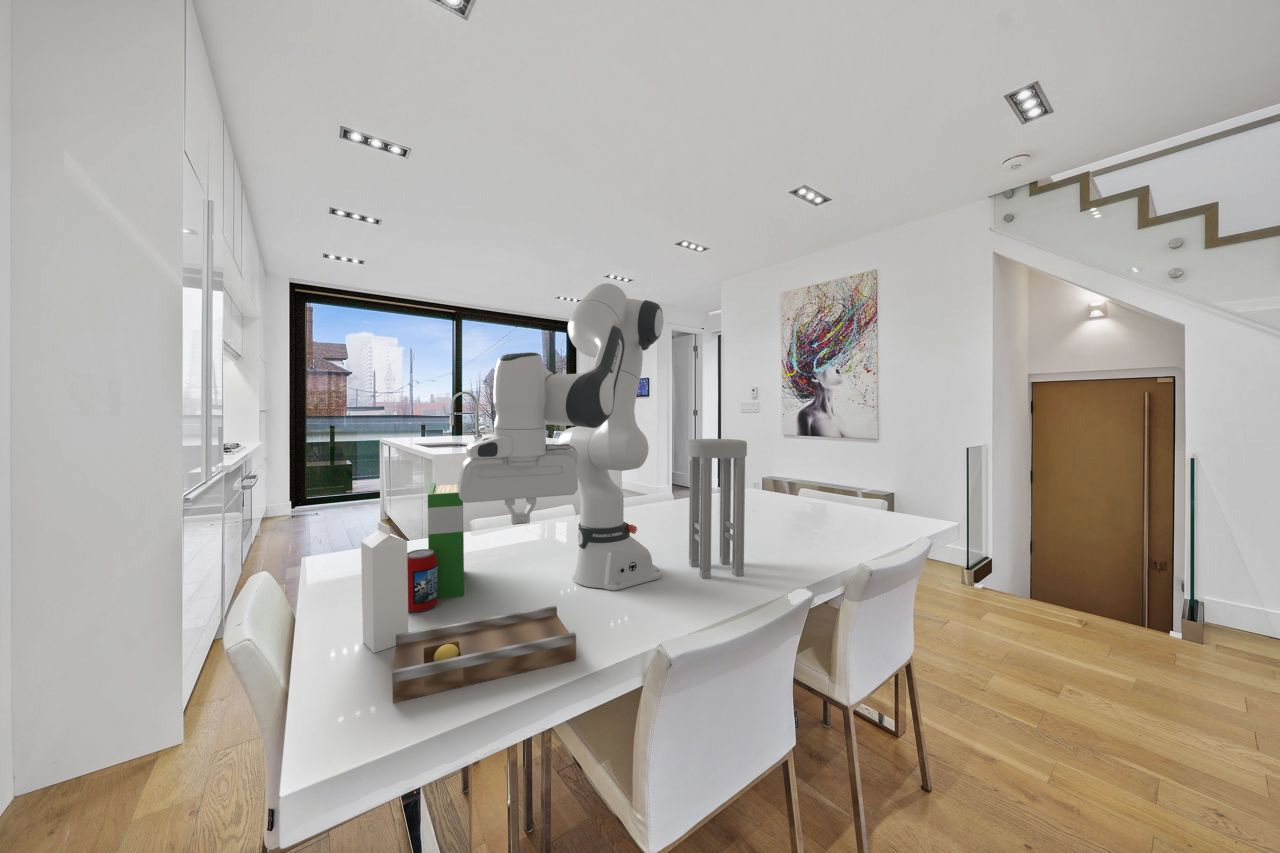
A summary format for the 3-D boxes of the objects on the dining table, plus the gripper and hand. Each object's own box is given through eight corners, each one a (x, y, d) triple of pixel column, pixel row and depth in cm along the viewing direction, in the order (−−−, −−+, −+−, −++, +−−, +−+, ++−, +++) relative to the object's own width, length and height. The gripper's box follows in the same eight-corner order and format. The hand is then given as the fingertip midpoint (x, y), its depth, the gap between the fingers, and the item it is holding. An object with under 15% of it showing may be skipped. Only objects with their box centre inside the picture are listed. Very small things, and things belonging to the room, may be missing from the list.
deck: (555, 628, 93) (555, 605, 93) (576, 660, 81) (576, 634, 81) (396, 660, 81) (395, 634, 81) (392, 703, 69) (392, 673, 69)
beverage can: (424, 615, 98) (423, 558, 98) (396, 612, 100) (395, 556, 99) (444, 602, 105) (443, 549, 105) (417, 599, 106) (416, 547, 106)
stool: (697, 582, 118) (698, 442, 116) (679, 562, 133) (680, 438, 132) (754, 578, 121) (756, 442, 120) (731, 559, 136) (732, 438, 135)
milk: (396, 631, 91) (395, 518, 91) (409, 642, 87) (408, 524, 87) (361, 642, 87) (360, 524, 86) (373, 654, 83) (371, 529, 82)
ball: (459, 638, 81) (434, 641, 79) (462, 649, 77) (435, 652, 75) (457, 662, 81) (431, 664, 79) (459, 674, 77) (432, 677, 75)
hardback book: (432, 574, 123) (431, 482, 122) (462, 571, 125) (461, 481, 124) (429, 600, 106) (427, 494, 105) (464, 595, 109) (463, 492, 108)
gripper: (572, 442, 89) (572, 514, 90) (457, 445, 81) (458, 525, 81) (582, 444, 84) (582, 521, 84) (460, 448, 75) (461, 534, 75)
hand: (520, 523), depth 83 cm, fingers closed
